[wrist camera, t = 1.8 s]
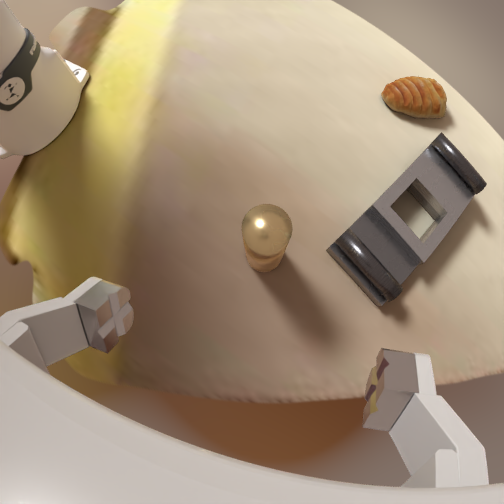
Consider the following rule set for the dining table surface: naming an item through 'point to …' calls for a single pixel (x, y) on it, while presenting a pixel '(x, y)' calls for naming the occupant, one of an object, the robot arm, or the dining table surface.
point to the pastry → (416, 97)
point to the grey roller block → (395, 229)
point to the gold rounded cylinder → (266, 236)
